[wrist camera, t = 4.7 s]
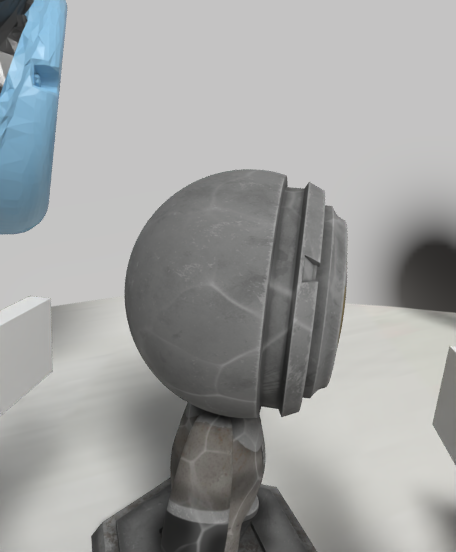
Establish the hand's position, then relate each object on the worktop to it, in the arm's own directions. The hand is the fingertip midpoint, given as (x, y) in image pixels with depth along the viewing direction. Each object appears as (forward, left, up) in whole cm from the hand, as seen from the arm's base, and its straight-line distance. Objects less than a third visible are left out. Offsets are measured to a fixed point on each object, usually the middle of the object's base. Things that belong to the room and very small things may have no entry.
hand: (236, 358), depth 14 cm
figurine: (0, 0, -9) cm, 9 cm away
